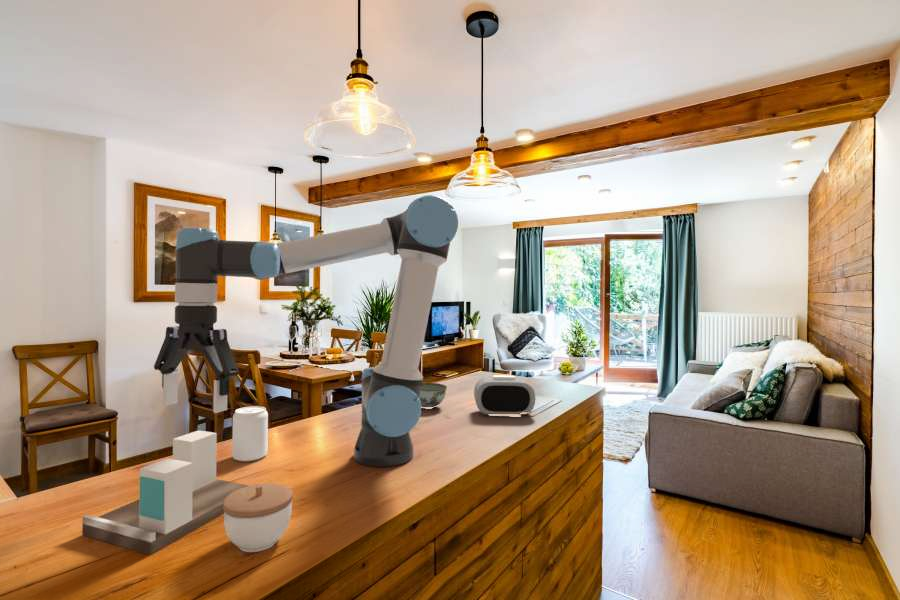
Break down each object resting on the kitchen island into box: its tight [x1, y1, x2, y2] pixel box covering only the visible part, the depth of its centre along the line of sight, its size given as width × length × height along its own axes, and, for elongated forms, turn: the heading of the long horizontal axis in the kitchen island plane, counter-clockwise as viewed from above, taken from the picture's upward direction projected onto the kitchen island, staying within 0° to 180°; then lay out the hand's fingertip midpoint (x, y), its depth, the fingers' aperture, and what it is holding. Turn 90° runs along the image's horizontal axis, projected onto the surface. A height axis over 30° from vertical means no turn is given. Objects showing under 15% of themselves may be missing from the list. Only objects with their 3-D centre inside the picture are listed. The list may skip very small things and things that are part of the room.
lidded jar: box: [223, 482, 294, 553], centre depth 75 cm, size 11×11×9 cm
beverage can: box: [231, 405, 269, 462], centre depth 113 cm, size 8×8×12 cm
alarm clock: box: [473, 374, 536, 415], centre depth 158 cm, size 21×10×13 cm, turn 90°
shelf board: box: [82, 478, 250, 556], centre depth 84 cm, size 16×22×3 cm
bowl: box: [419, 382, 448, 407], centre depth 165 cm, size 14×13×8 cm
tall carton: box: [172, 430, 218, 492], centre depth 92 cm, size 5×6×10 cm
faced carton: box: [138, 457, 193, 534], centre depth 76 cm, size 5×6×10 cm
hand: (194, 407), depth 92 cm, fingers open, 13 cm apart
